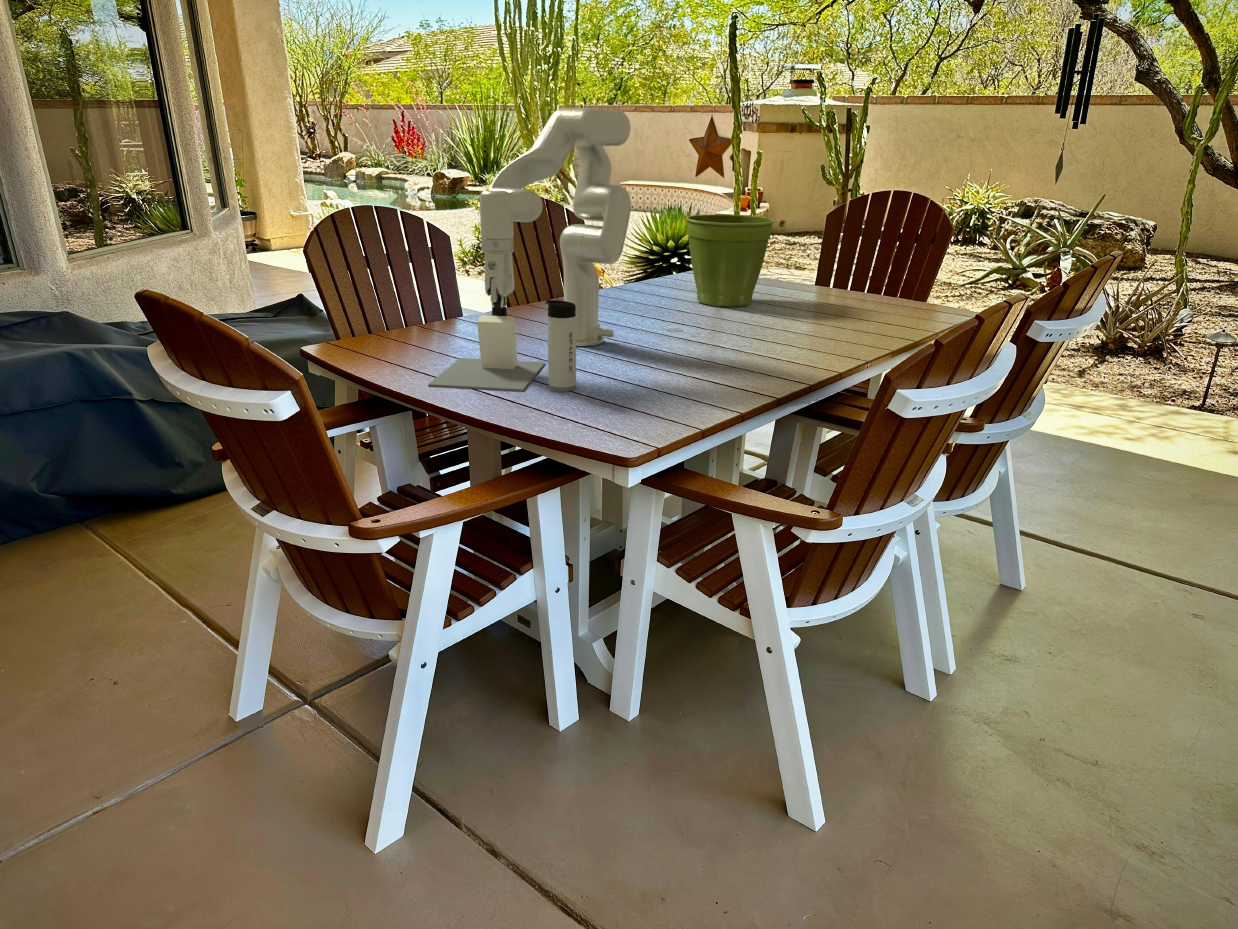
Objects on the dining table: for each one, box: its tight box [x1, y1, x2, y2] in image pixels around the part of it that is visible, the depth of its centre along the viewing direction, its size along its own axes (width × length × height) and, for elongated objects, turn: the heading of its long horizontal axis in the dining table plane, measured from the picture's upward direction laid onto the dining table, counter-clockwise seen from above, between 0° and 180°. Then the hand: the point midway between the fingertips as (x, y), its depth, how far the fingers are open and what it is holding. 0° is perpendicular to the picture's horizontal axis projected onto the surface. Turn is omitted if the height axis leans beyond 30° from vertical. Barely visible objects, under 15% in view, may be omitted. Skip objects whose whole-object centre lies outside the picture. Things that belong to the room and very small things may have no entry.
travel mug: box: [545, 299, 577, 393], centre depth 181 cm, size 6×7×20 cm
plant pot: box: [685, 214, 775, 307], centre depth 281 cm, size 30×30×29 cm
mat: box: [428, 357, 546, 392], centre depth 194 cm, size 22×24×1 cm
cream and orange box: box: [476, 314, 518, 369], centre depth 196 cm, size 8×4×12 cm, turn 83°
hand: (499, 323), depth 197 cm, fingers closed
